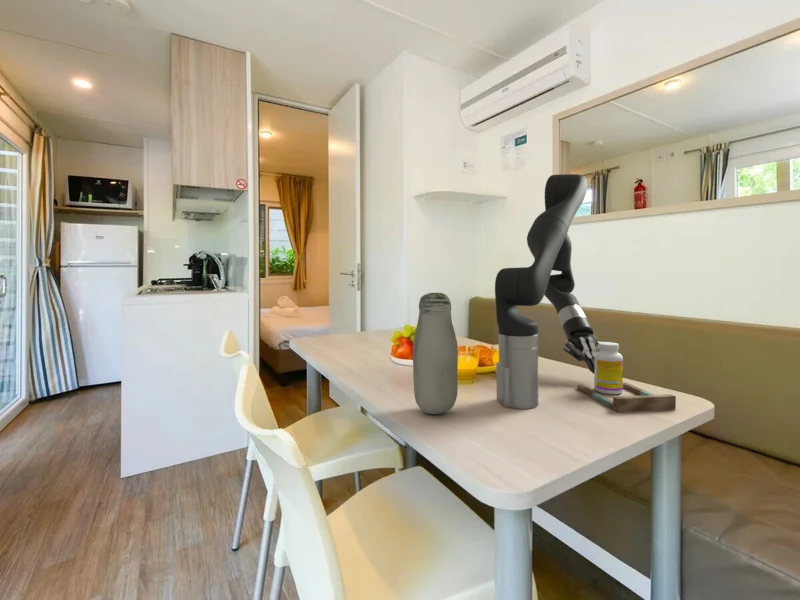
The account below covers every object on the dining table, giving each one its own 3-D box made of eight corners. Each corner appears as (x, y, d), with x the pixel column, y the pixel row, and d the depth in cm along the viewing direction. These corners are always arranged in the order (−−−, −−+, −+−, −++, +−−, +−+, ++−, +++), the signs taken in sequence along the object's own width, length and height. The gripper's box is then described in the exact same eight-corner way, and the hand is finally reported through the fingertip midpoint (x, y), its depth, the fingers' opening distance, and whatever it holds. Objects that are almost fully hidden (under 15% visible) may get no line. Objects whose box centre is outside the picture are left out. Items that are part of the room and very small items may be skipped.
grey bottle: (432, 423, 82) (429, 294, 80) (406, 410, 91) (403, 293, 89) (467, 413, 87) (465, 292, 85) (439, 402, 96) (437, 291, 94)
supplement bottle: (626, 395, 97) (627, 345, 96) (598, 394, 98) (599, 345, 97) (617, 388, 103) (617, 341, 103) (591, 387, 105) (591, 341, 104)
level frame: (616, 411, 86) (617, 398, 86) (577, 388, 104) (577, 378, 103) (675, 409, 87) (675, 396, 87) (626, 386, 104) (626, 376, 104)
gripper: (557, 316, 114) (579, 365, 103) (600, 314, 115) (626, 364, 103) (549, 331, 120) (569, 379, 108) (590, 329, 120) (614, 378, 109)
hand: (597, 372), depth 106 cm, fingers closed
